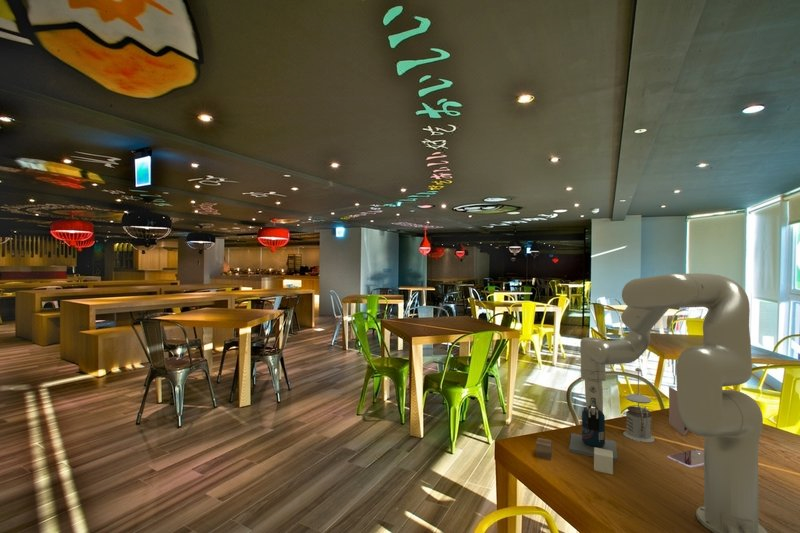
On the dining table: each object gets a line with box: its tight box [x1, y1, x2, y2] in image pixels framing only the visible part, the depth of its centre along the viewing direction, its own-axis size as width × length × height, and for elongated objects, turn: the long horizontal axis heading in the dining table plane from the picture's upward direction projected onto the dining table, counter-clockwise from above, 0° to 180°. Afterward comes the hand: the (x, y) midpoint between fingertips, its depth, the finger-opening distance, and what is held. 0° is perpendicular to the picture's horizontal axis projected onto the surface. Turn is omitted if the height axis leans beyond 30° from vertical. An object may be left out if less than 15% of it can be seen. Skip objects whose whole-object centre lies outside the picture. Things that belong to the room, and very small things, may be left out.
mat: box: [568, 432, 618, 462], centre depth 128 cm, size 14×14×1 cm
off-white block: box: [593, 447, 614, 475], centre depth 114 cm, size 5×5×5 cm
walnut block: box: [535, 437, 553, 461], centre depth 122 cm, size 4×4×4 cm
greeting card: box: [668, 386, 690, 436], centre depth 144 cm, size 11×7×15 cm, turn 132°
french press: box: [623, 367, 656, 443], centre depth 137 cm, size 10×12×25 cm
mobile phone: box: [667, 449, 704, 468], centre depth 121 cm, size 8×1×15 cm
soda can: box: [581, 406, 606, 448], centre depth 128 cm, size 7×7×12 cm
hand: (593, 425), depth 127 cm, fingers open, 9 cm apart
